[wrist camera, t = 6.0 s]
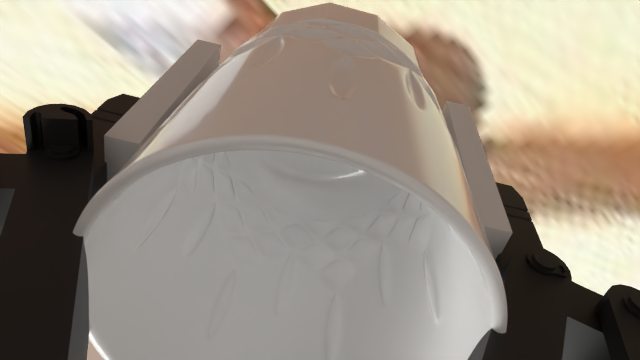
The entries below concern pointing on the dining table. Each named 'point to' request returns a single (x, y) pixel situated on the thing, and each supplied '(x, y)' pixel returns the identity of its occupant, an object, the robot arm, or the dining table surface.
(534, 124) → the dining table surface
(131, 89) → the dining table surface
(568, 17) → the dining table surface
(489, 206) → the robot arm
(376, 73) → the white cup
